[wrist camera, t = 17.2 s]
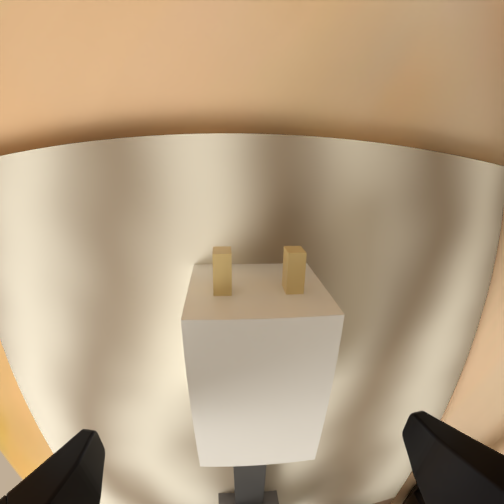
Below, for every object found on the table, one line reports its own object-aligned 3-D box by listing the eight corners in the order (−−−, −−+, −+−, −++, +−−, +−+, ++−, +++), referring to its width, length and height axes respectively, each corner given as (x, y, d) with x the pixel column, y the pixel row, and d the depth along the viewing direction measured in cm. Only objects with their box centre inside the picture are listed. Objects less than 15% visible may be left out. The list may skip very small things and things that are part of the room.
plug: (308, 230, 11) (350, 269, 7) (276, 508, 17) (284, 554, 13) (192, 230, 11) (177, 272, 7) (217, 511, 16) (219, 558, 13)
